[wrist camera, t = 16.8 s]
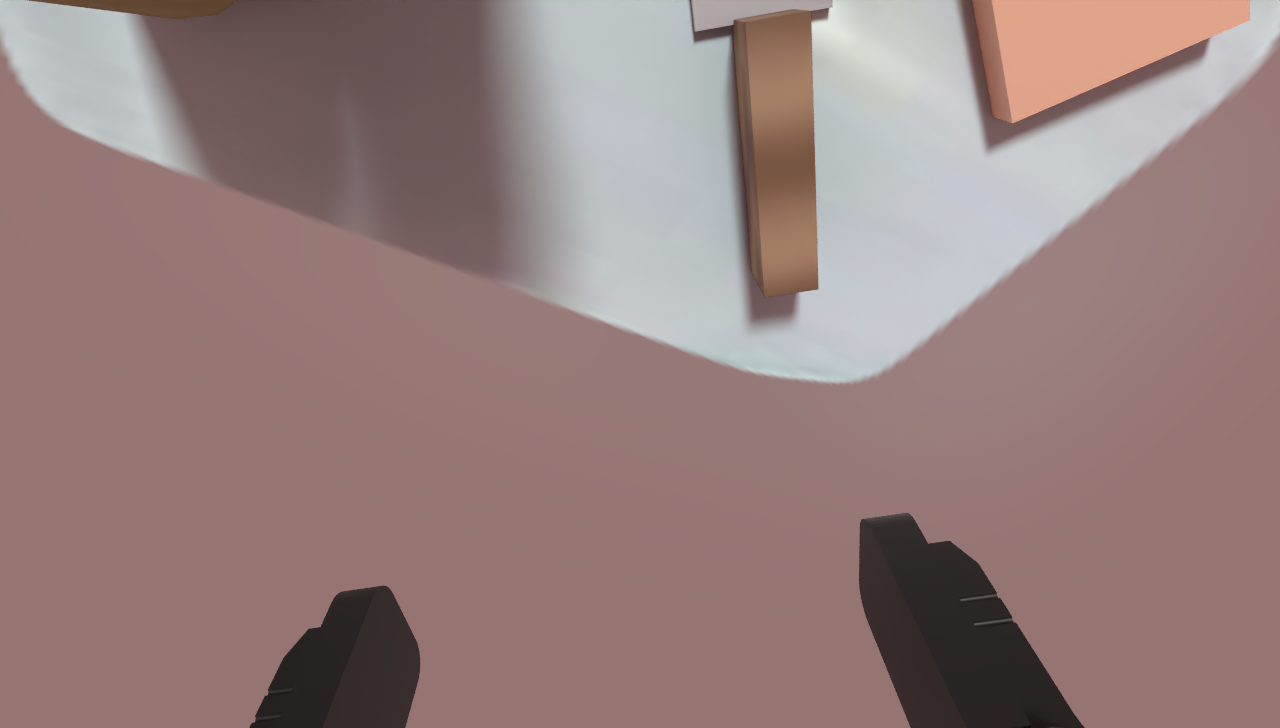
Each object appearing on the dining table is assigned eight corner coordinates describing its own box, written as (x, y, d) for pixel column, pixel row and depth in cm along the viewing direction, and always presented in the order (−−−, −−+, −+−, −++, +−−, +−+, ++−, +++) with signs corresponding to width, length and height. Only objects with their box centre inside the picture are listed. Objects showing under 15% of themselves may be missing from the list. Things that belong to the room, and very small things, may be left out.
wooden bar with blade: (832, 257, 35) (853, 283, 32) (719, 275, 35) (729, 303, 32) (826, -169, 26) (854, -191, 23) (675, -141, 27) (683, -158, 23)
